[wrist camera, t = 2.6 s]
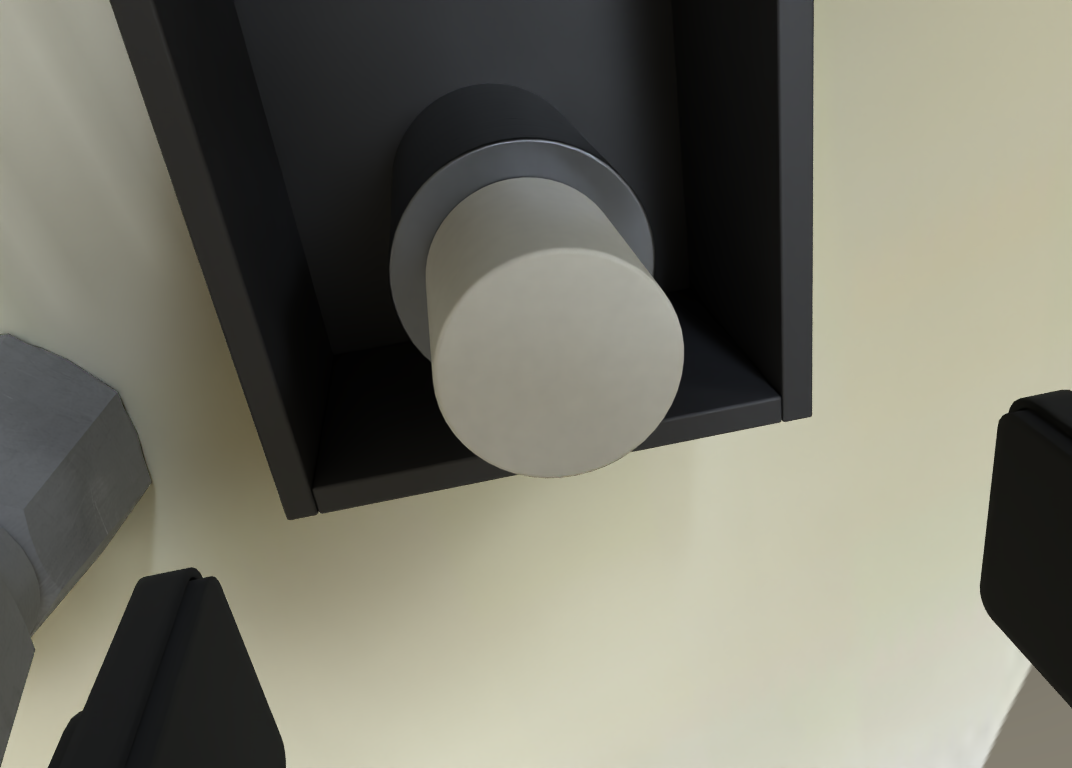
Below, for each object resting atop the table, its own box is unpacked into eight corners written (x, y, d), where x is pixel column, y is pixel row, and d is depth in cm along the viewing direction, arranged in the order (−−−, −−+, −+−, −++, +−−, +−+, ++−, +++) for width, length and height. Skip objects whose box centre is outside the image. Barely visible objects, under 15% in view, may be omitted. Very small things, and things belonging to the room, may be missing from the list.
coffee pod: (465, 146, 18) (485, 210, 13) (653, 216, 19) (728, 296, 15) (399, 332, 20) (398, 444, 15) (576, 386, 21) (624, 504, 16)
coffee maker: (706, 296, 30) (813, 416, 22) (317, 370, 29) (287, 522, 22) (670, -344, 22) (817, -504, 14) (131, -265, 21) (-25, -387, 13)
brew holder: (428, 48, 25) (440, 94, 17) (612, 122, 27) (700, 194, 19) (367, 236, 28) (354, 353, 20) (541, 293, 29) (593, 422, 21)
